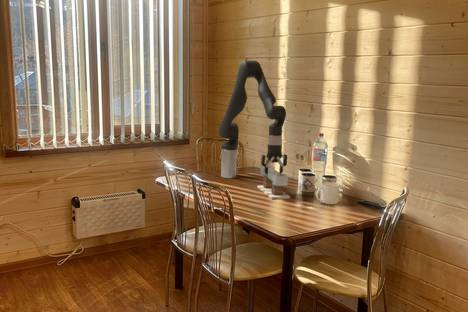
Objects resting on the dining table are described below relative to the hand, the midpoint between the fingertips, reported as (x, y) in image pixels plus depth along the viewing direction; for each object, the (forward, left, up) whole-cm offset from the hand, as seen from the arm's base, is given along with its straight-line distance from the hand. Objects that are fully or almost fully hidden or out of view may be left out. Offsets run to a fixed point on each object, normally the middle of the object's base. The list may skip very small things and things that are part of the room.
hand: (273, 173), depth 244 cm
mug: (+22, +21, -11) cm, 32 cm away
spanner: (0, 0, -3) cm, 3 cm away
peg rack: (0, 0, -10) cm, 10 cm away
